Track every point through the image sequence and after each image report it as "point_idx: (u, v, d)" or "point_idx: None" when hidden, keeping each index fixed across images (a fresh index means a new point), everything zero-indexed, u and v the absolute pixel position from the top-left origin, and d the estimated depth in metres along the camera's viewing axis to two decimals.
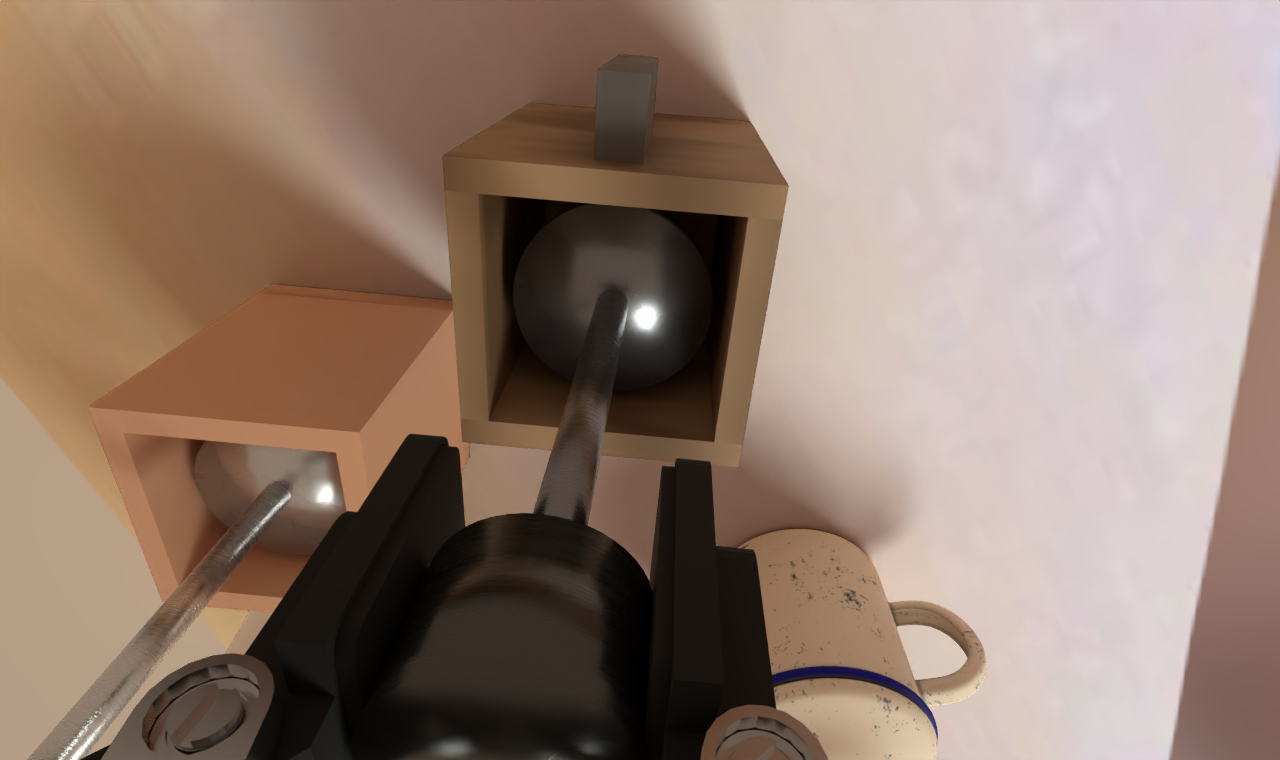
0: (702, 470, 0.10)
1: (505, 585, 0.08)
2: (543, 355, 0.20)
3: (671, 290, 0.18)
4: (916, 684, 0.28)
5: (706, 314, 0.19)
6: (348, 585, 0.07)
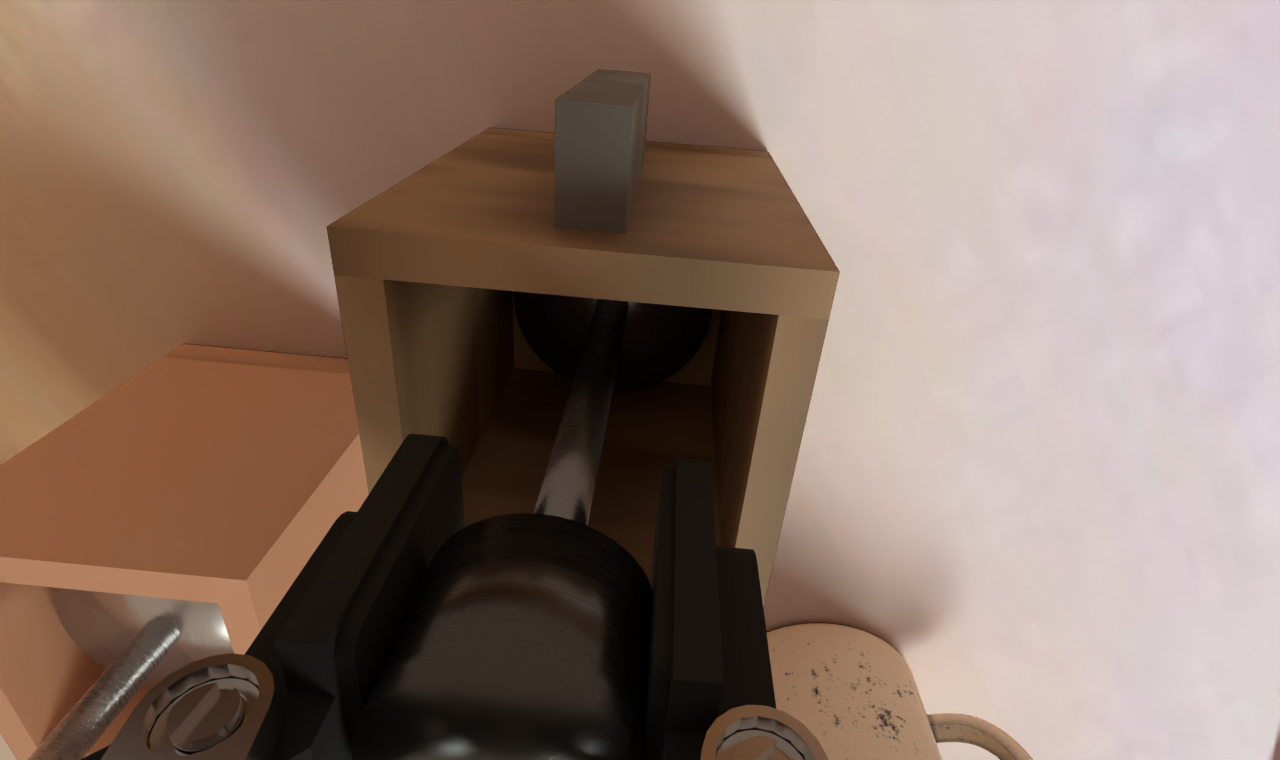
0: (702, 470, 0.10)
1: (506, 585, 0.08)
2: (543, 355, 0.20)
3: None
4: None
5: (706, 314, 0.19)
6: (348, 585, 0.07)
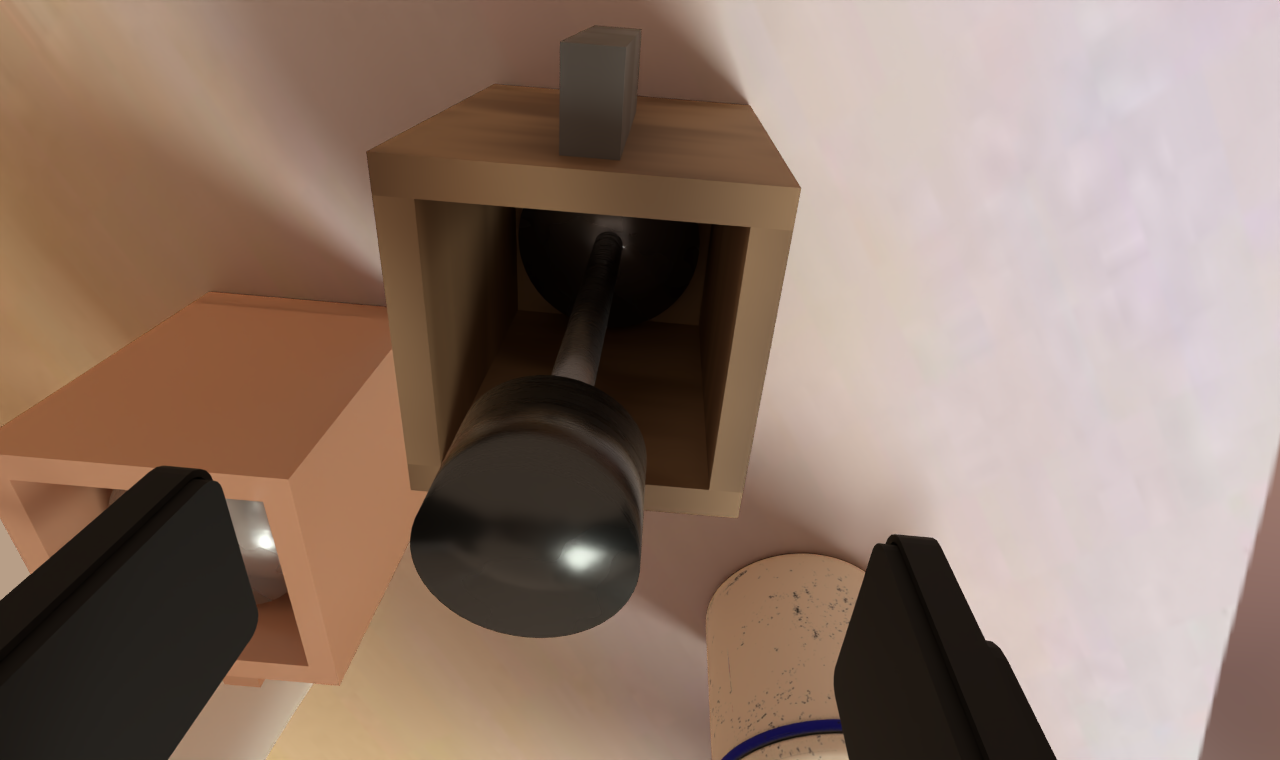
0: (932, 551, 0.09)
1: (528, 418, 0.10)
2: (546, 294, 0.22)
3: (662, 231, 0.20)
4: None
5: (694, 254, 0.21)
6: None
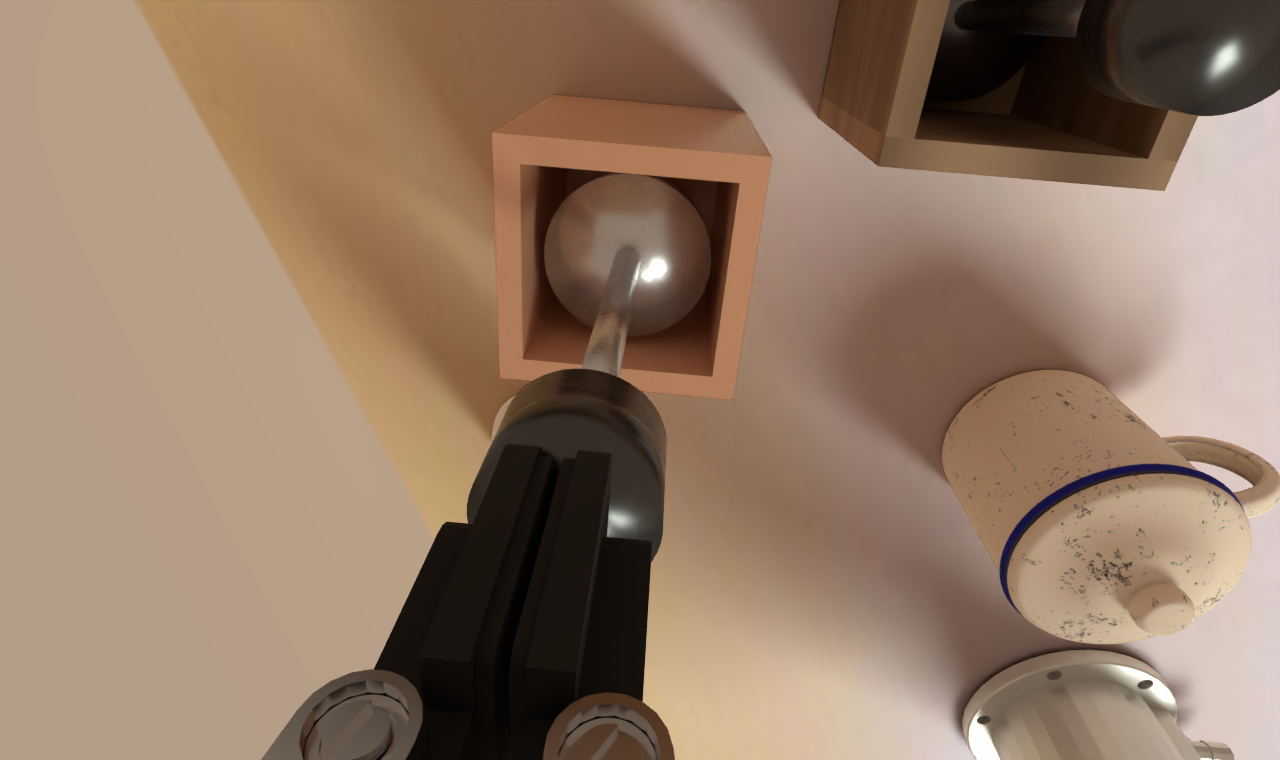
0: (601, 462, 0.10)
1: None
2: None
3: None
4: None
5: None
6: (480, 599, 0.07)
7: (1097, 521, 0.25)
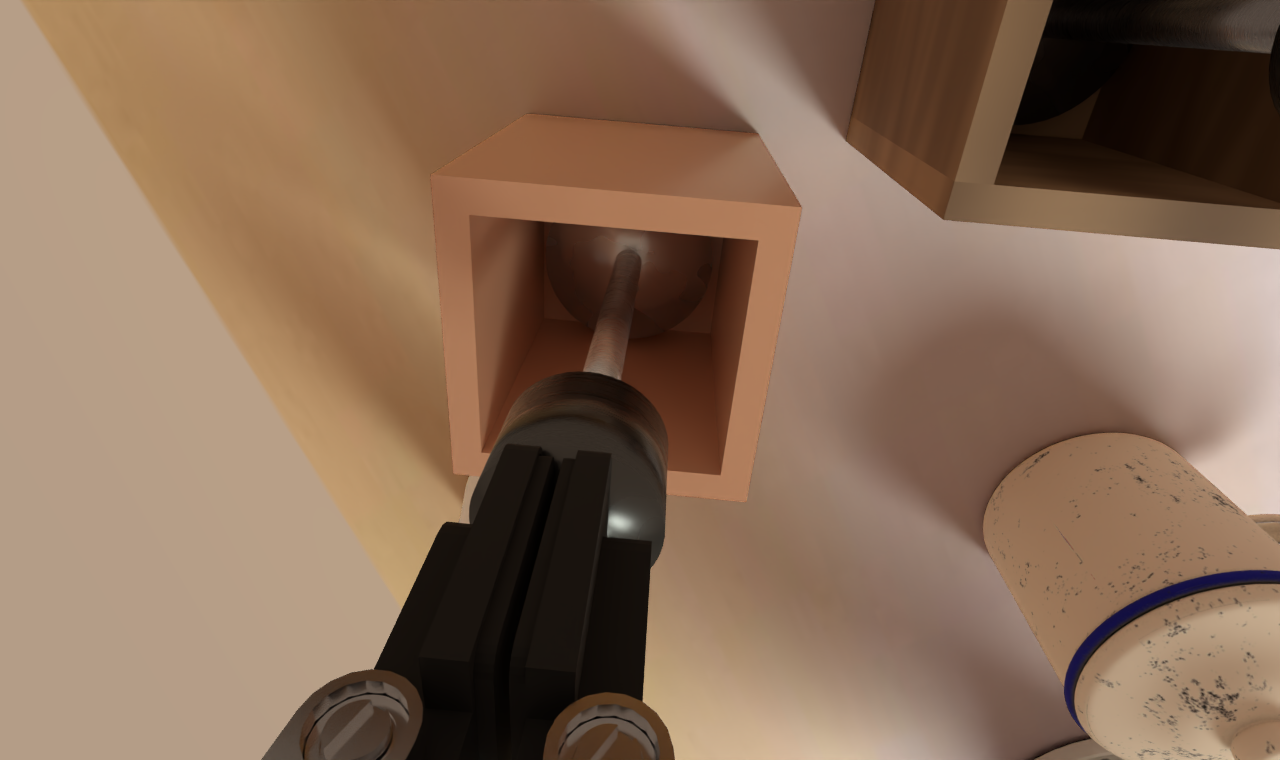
0: (601, 462, 0.10)
1: None
2: None
3: None
4: None
5: None
6: (479, 600, 0.07)
7: (1194, 641, 0.20)
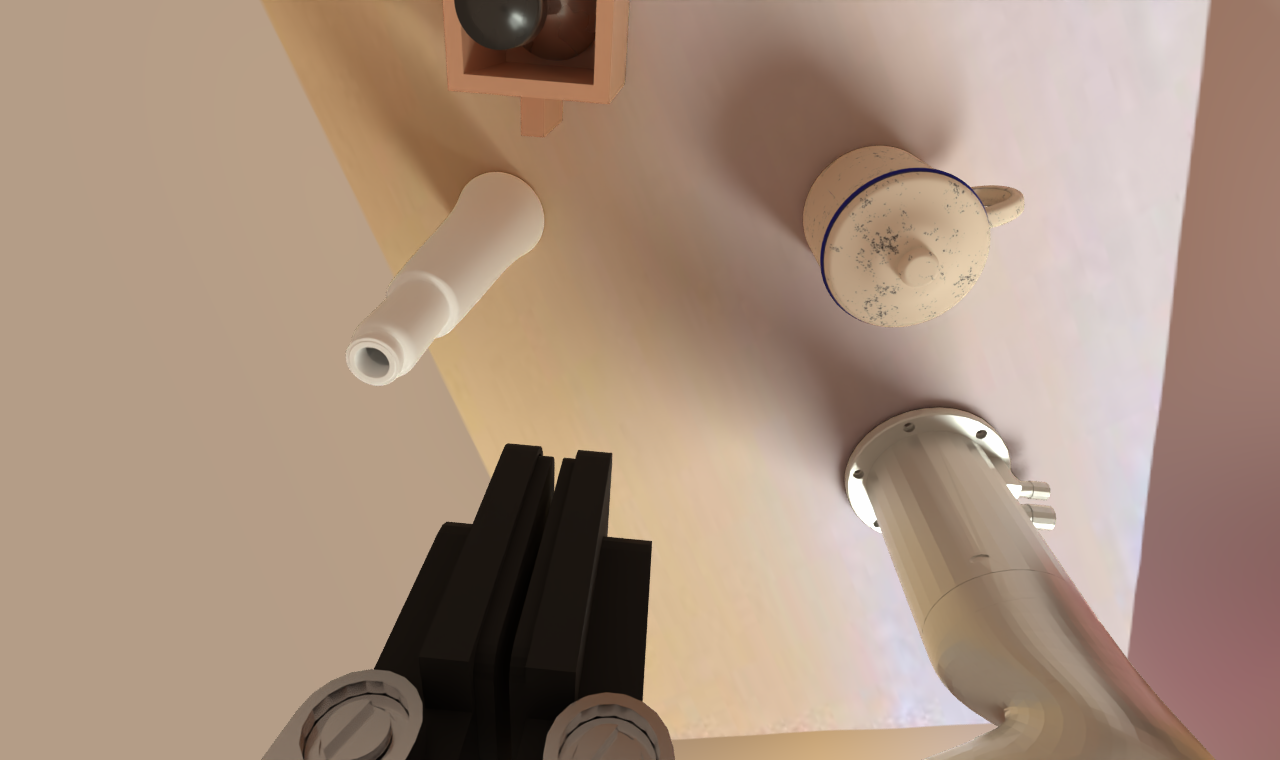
0: (601, 462, 0.10)
1: None
2: None
3: None
4: None
5: None
6: (480, 599, 0.07)
7: (875, 208, 0.35)
